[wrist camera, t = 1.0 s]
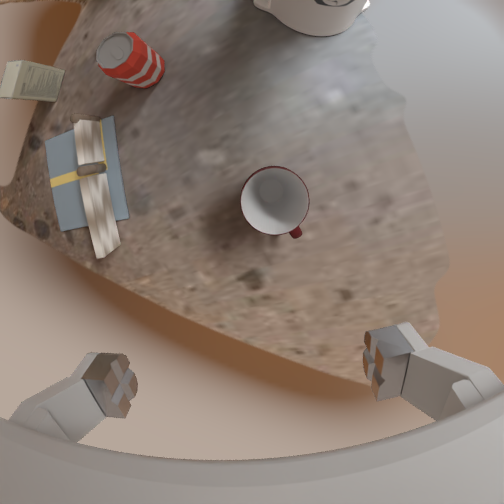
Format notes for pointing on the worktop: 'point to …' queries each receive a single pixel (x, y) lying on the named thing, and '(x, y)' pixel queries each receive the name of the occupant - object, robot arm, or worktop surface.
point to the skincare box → (30, 81)
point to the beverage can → (130, 60)
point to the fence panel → (100, 214)
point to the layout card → (67, 180)
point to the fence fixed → (88, 143)
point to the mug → (275, 201)
